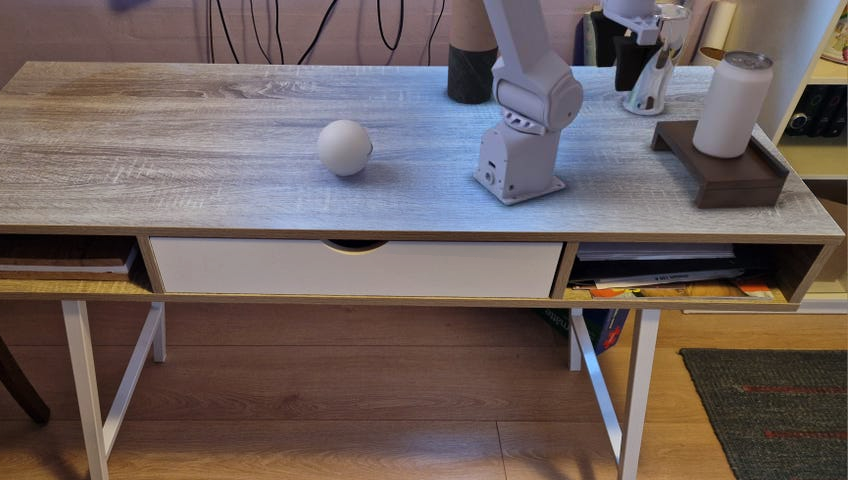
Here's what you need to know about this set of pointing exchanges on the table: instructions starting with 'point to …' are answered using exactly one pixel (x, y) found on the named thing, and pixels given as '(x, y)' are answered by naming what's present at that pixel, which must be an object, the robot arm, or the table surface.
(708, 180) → the desk shelf
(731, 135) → the can
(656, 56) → the beer glass
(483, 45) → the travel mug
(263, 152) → the table surface
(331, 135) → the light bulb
